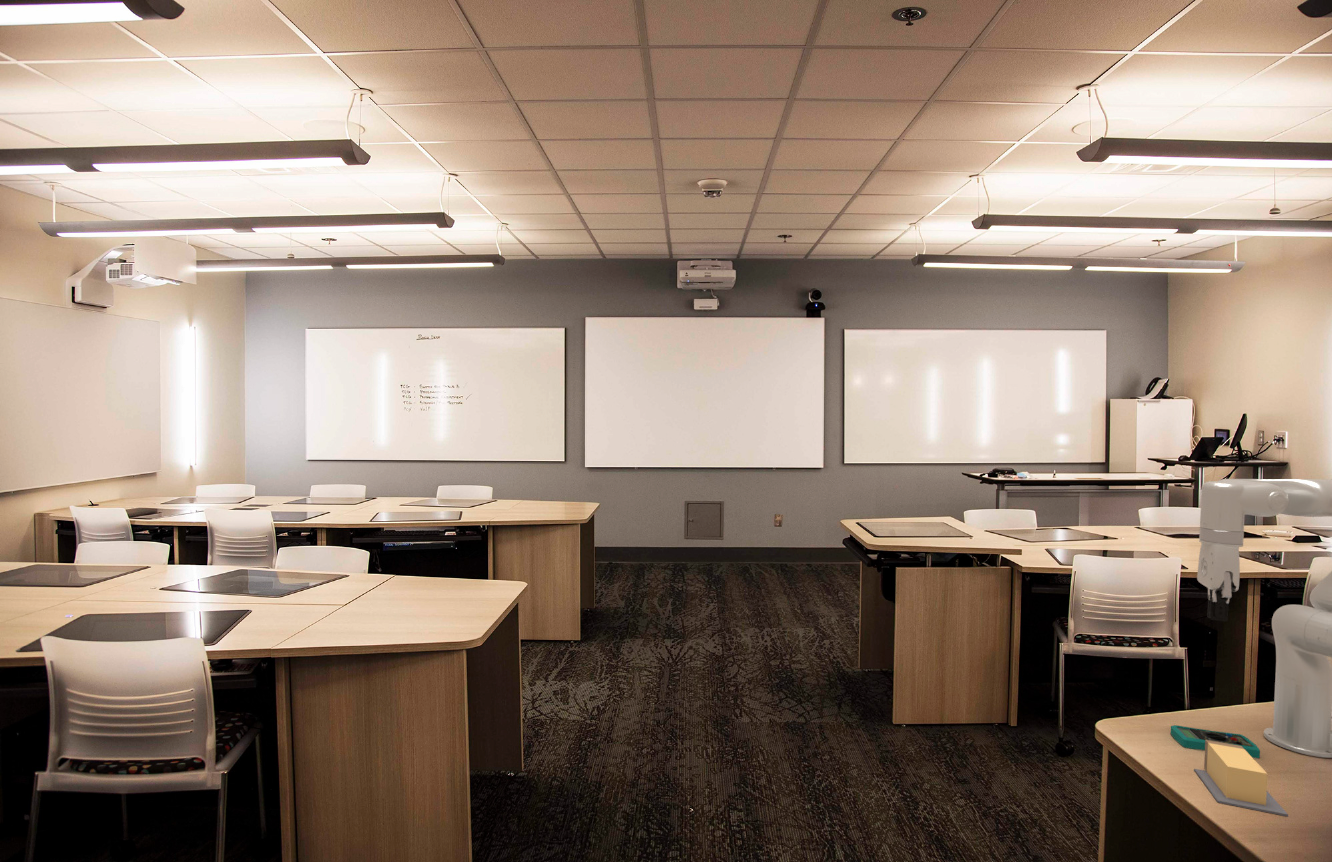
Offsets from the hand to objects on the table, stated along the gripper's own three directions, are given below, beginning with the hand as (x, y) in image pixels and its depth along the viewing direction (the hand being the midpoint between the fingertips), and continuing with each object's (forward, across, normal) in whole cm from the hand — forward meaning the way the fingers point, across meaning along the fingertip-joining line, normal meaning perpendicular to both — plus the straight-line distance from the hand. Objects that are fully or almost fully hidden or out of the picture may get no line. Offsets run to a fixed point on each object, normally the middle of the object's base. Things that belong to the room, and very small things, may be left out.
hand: (1217, 619), depth 149 cm
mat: (+29, +20, -2) cm, 35 cm away
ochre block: (+26, +12, -2) cm, 29 cm away
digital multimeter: (+30, -2, +1) cm, 30 cm away
